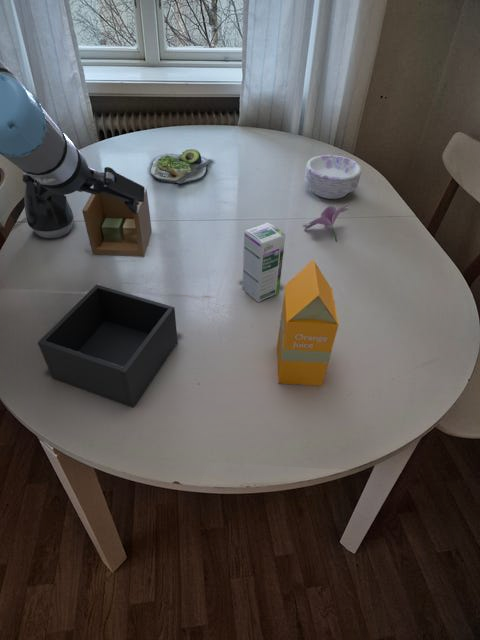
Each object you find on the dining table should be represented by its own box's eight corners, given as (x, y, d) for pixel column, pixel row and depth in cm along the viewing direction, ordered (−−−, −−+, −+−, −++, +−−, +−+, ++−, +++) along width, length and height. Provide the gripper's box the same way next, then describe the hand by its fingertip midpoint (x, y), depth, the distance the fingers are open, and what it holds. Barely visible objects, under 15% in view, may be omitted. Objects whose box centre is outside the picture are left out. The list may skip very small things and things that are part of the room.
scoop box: (93, 258, 97) (82, 210, 89) (104, 233, 105) (95, 186, 97) (144, 260, 98) (138, 212, 89) (152, 234, 105) (146, 189, 97)
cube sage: (104, 241, 101) (101, 226, 98) (108, 232, 103) (105, 217, 101) (121, 242, 101) (119, 227, 98) (125, 233, 103) (122, 218, 101)
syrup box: (258, 303, 88) (263, 243, 78) (240, 288, 91) (243, 228, 81) (279, 293, 91) (287, 234, 81) (261, 279, 94) (267, 220, 84)
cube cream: (125, 242, 101) (122, 227, 98) (128, 233, 103) (126, 218, 101) (142, 243, 101) (140, 228, 98) (145, 233, 104) (143, 219, 101)
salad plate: (206, 190, 123) (206, 174, 120) (144, 186, 123) (142, 171, 120) (213, 162, 137) (212, 147, 134) (157, 158, 137) (156, 144, 134)
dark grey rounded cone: (26, 245, 100) (4, 183, 90) (40, 221, 108) (21, 162, 97) (70, 245, 101) (54, 184, 90) (81, 222, 108) (66, 163, 98)
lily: (351, 230, 112) (343, 194, 109) (363, 238, 101) (355, 197, 98) (306, 244, 113) (297, 208, 110) (314, 253, 102) (304, 214, 99)
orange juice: (318, 348, 79) (339, 259, 66) (322, 386, 73) (347, 296, 59) (275, 346, 80) (288, 256, 66) (277, 383, 73) (290, 293, 59)
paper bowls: (301, 201, 120) (305, 173, 115) (304, 177, 131) (308, 151, 126) (356, 207, 119) (362, 180, 113) (355, 183, 130) (361, 157, 124)
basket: (52, 378, 72) (37, 342, 66) (105, 319, 83) (96, 284, 77) (133, 407, 69) (125, 372, 63) (177, 342, 79) (174, 306, 73)
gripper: (-37, 183, 61) (33, 222, 82) (139, 190, 61) (164, 227, 82) (-35, 131, 61) (35, 183, 82) (142, 138, 61) (165, 188, 82)
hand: (99, 205), depth 82 cm, fingers open, 13 cm apart
